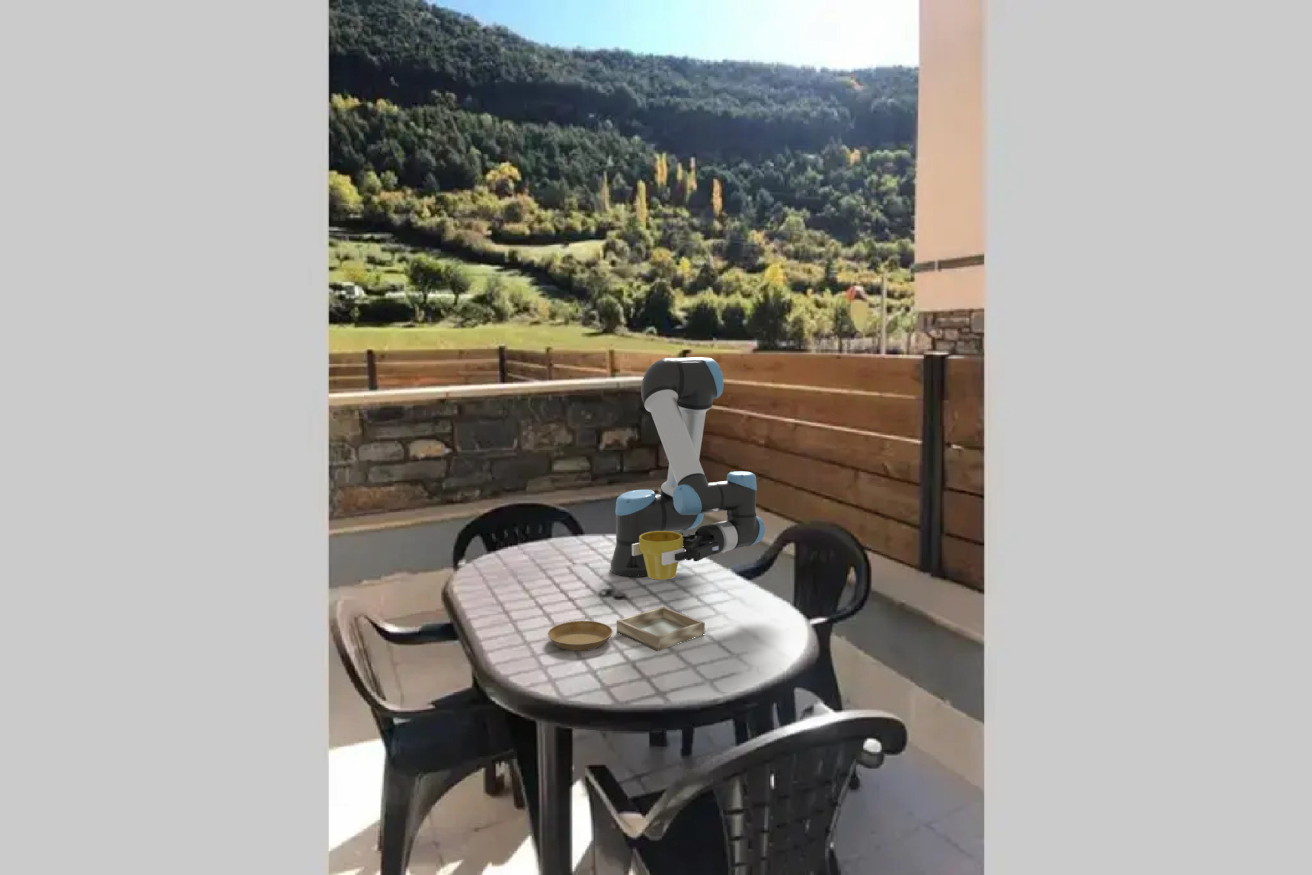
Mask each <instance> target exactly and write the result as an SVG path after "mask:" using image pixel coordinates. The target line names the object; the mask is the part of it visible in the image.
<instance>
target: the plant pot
mask: <svg viewBox="0 0 1312 875" xmlns="http://www.w3.org/2000/svg"><path fill="white" fill-rule="evenodd" d="M639 547H640V551H641V552H642V553H643V557H644V561H645V565H646V570H647V574H648V576H647V577H648V578H649V579H652V580H655V581H656V580H658V581H662V580H671V579H673V578H675V577H676V576H677V571H678V565H679V562H675V563H671V564H667V565H662V553H664V552H669V551H673V550H678V549H681V548H683V547H684V546H683V536H682V535H681V534H680V532H678V531H653V532H647V533H644V534H642V535H640V536H639Z"/></svg>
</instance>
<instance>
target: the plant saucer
mask: <svg viewBox="0 0 1312 875" xmlns="http://www.w3.org/2000/svg"><path fill="white" fill-rule="evenodd" d="M613 632H614V631H613V629H612V627H611V626H609V625H608V624H606V623H603V622H599V621H591V620H576V621H570V622H568V621H567V622H563V623H561V624H557V625H555V626H553V627H552V628H550V629H549V630H548V632H547V635H548V638H549V639H550V640H551V641H552V642H553V643H554V644H555V645H556V646H557V647H559V648H560V649H563V650H566V651H570V652H583V651H584V652H586V651H591V650H595V649H597V648H600V647H601V646H602V645H604V644H605V643H606V642H607V641H608V640H609V639H610V637H611V636H612V634H613Z"/></svg>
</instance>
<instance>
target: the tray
mask: <svg viewBox="0 0 1312 875" xmlns="http://www.w3.org/2000/svg"><path fill="white" fill-rule="evenodd" d="M705 625H706V623H705V622H704V621H701V620H700V619H696V618H694V617H691V616H689V615H686V614H684V613H681V612H678V611H676V610H673V609H671V608H669V607H667V606H660V607H658V608H654V609H651V610H648V611H644V612H641V613H638V614H634V615H630V616H628V617H627V616H626V617H624V618H621V619H616V633H617V634H619V633H620V634H619V635H621V634H622V635H621V636H624V637H625V638H627V637H628V638H627V639H629V640H632V641H635V642H637V643H638V642H639V643H638V644H640V643H641V645H643V646H645V647H648V648H649V649H651V650H653V651H656V652H658V650H659V651H661V650H664V649H668V648H670V647H674V646H676V645H678V643H679V644H681V643H680V642H682V643H684V641H685V642H688V641H690V640H689V639H691V640H693V639H692V638H694V637H697V638H700V637H702V636H701V635H703V634H705V631H706V630H705V628H706V627H705ZM705 635H706V634H705ZM699 636H700V637H699ZM703 636H704V635H703ZM694 639H695V638H694ZM687 640H688V641H687ZM675 644H676V645H675ZM669 646H670V647H669Z"/></svg>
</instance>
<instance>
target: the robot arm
mask: <svg viewBox="0 0 1312 875" xmlns="http://www.w3.org/2000/svg"><path fill="white" fill-rule="evenodd" d="M640 389H641V390H640V392H641V395H640V396H641V399H642V400H641V401H642V403H643V406H644V408H645V410H646V411H647V412H649V413H650V414H651V418H652V420H653V422H654V425H655V428H656V430H657V433H658V436H659V438H660V441H661V444H662V447H663V450H664V452H665V456H666V458H667V461H668V463H669V464H668V471H667V479H666V480H665V481H664V482H663V483H662V484H661V486H660V492H659V493H655V491H654V490H653V489H635V490H629V491H627V492H626V491H625V492H624V493H622V494H620V495H619V496H618V497H617V498H616V502H615V510H614V512H615V539H616V541H615V542H616V543H615V547H614V551H613V554H612V559H611V560H610V571H611V572H612V573H614V574H615V575H619V576H623V577H648V574H647V570H646V565H645V561H644V557H643V553H642V552H641V551H640V547H639V536H640V535H642V534H644V533H647V532H653V531H672V532H678V531H680V532H679V533H680V534H681V535H682V536H683V548H681V549H678V550H673V551H669V552H664V553H662V565H667V564H671V563H675V562H678V563H679V562H683V561H685V560H686V561H691V560H693V562H699V561H701V560H703V559H705V558H707V557H709V556H714V555H718V554H719V553H721V554H725V553H726V552H728V551H732V550H736V549H741V548H746V547H751V546H753V545H755V544H758V543H760V542H761V541H763V539H764V538H765V534H766V526H765V525H764V521H763V520H762V518H761V517H760V516H757V491H758V489H757V488H758V486H757V477H756V475H755V473H753V472H752V471H751V472H750V471H742V470H741V471H730V472H729V473H727V474H726V480H724V481H715V482H714V481H713V482H709V481H708V479H707V477H706V475H705V472H704V469H703V467H702V464H701V462H700V456H701V450H702V449H701V448H702V442H703V437H704V436H703V434H704V428H705V420H706V414H707V412H708V411H710V409H712V408H713V402H714V400H716V399H718V398H720V397H721V396H722V394H723V392H724V376H723V372H722V370H721V367H720V365H719V363H718V362H717V360H715V359H713V358H711V357H701V356H697V357H673V358H672V357H665V358H660V359H659V360H656V361H654V363H653V364H651V365H650V366H649V367H648V369H647V370H646V371H645V373H644V375H643V378H642V381H641V387H640ZM718 512H719V513H720V512H726V515H727V517H726V518H727V519H726V520H723V521H717V522H714V523H711V524H705V525H702V526H700V525H701V523H702V521H703V520H704V517H705V514H707V513H718ZM697 527H698V528H697ZM695 528H697V529H696V531H695V532H694V533H688V534H684V533H683V532H684V531H687V530H691V529H695ZM681 531H682V532H681Z"/></svg>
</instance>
